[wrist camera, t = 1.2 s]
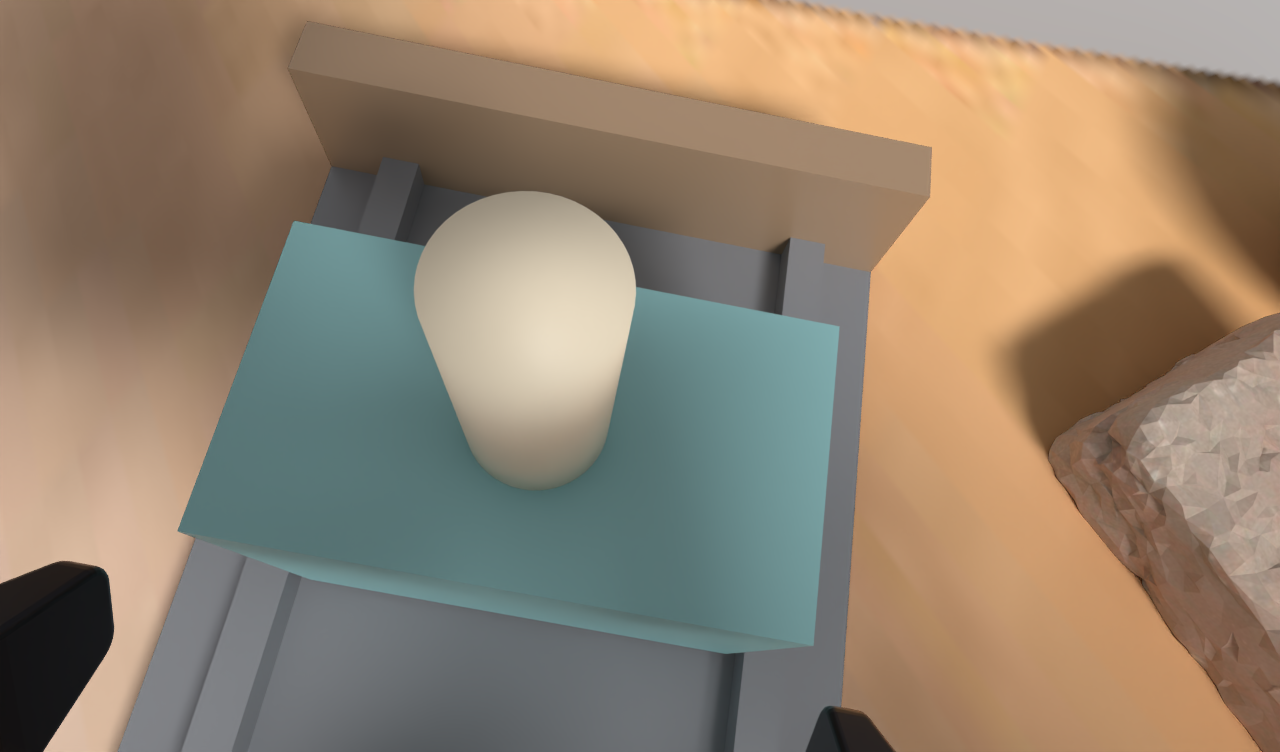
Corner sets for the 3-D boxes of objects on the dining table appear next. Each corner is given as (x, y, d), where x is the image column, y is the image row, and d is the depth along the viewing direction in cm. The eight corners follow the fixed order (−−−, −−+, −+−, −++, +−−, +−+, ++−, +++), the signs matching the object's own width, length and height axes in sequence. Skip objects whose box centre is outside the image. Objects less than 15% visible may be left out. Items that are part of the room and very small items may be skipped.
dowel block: (725, 653, 19) (966, 631, 8) (310, 579, 19) (-60, 444, 7) (752, 433, 21) (973, 163, 10) (377, 362, 21) (164, -1, 10)
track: (806, 953, 18) (896, 1056, 13) (112, 837, 18) (-55, 900, 13) (859, 245, 25) (932, 144, 20) (357, 146, 25) (308, 17, 20)
